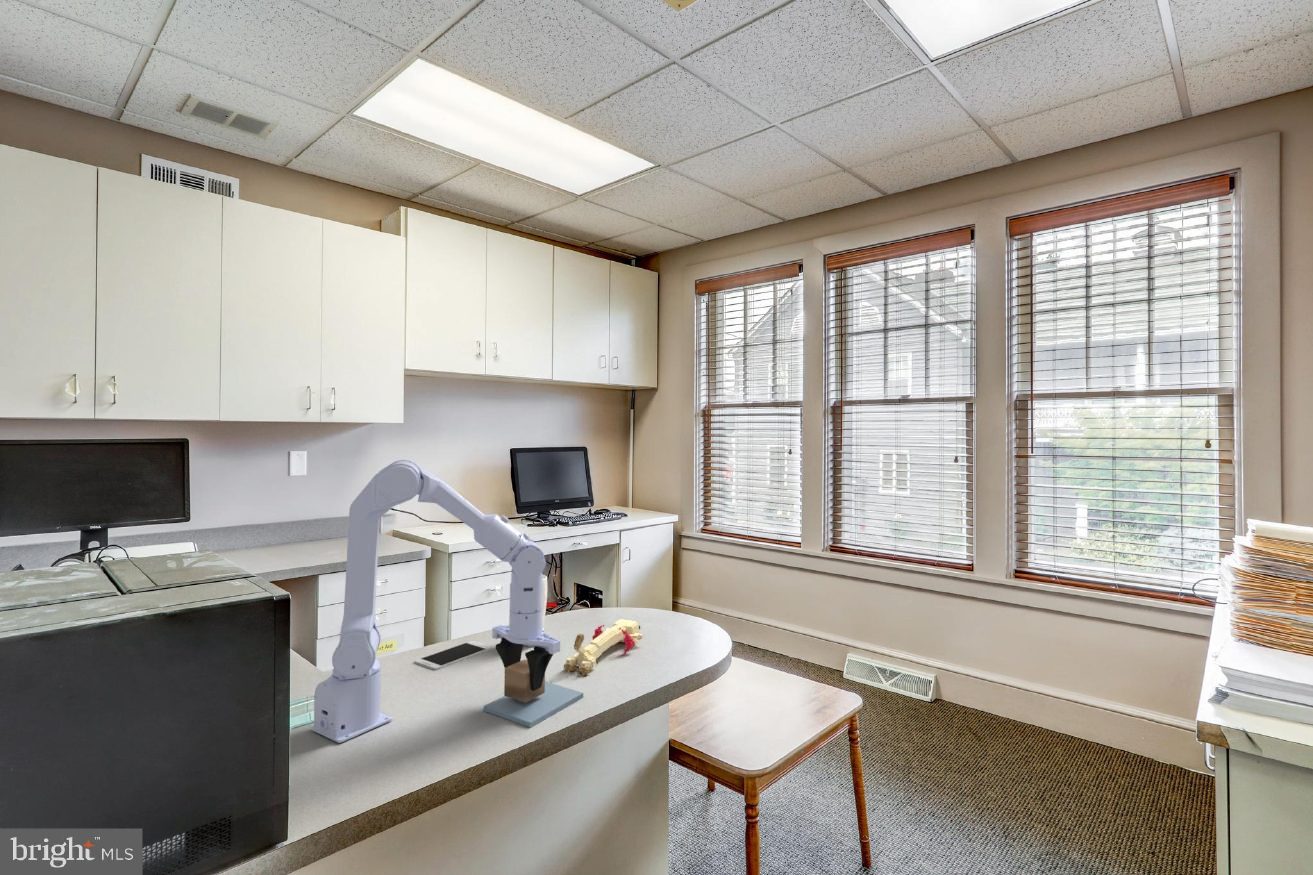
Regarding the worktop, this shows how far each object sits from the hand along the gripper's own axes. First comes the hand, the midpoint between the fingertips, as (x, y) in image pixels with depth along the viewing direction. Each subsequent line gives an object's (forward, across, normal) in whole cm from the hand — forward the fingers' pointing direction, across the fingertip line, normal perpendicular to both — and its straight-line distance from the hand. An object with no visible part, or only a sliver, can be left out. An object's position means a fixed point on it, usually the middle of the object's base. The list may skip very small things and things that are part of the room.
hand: (524, 684), depth 114 cm
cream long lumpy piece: (+4, +2, -28) cm, 29 cm away
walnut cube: (+2, 0, 0) cm, 2 cm away
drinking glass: (+4, +20, -24) cm, 32 cm away
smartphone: (+4, +28, -9) cm, 30 cm away
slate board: (+3, -2, -1) cm, 4 cm away
